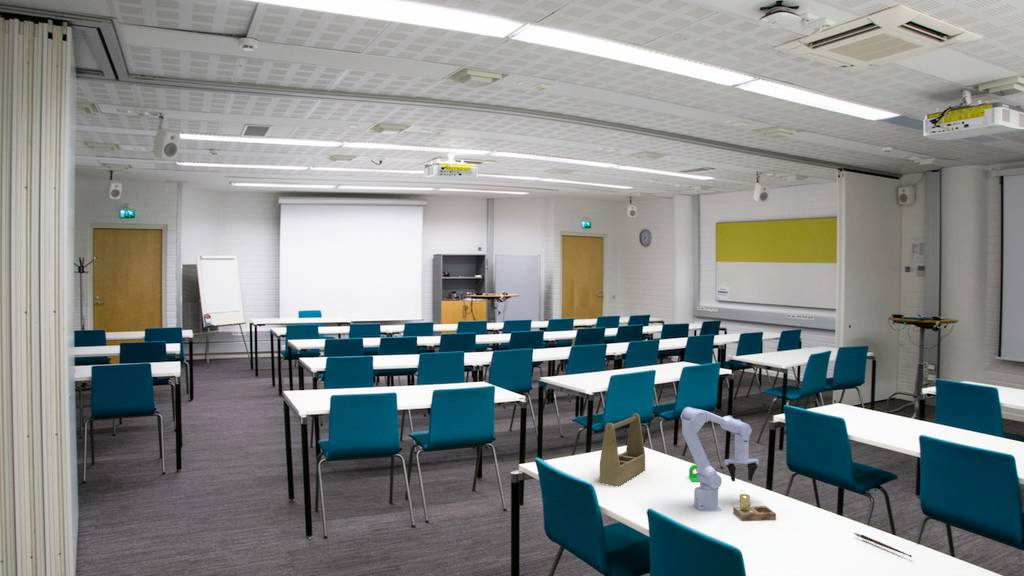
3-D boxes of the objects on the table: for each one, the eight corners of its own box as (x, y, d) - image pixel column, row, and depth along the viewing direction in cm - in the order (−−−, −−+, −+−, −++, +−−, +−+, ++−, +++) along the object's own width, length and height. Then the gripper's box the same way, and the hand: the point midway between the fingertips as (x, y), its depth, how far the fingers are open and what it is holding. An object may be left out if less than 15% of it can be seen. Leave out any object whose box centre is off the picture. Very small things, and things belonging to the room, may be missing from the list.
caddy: (626, 470, 340) (626, 411, 340) (645, 473, 334) (645, 414, 333) (599, 484, 316) (599, 421, 316) (619, 488, 310) (619, 424, 310)
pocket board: (742, 520, 268) (742, 514, 268) (733, 512, 277) (733, 506, 277) (775, 519, 269) (775, 513, 269) (765, 512, 278) (765, 505, 278)
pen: (851, 534, 253) (910, 557, 233) (852, 531, 253) (911, 554, 233) (853, 534, 254) (912, 557, 233) (854, 531, 254) (913, 554, 233)
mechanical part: (692, 484, 316) (692, 468, 316) (689, 481, 322) (689, 464, 322) (717, 485, 316) (717, 468, 316) (714, 481, 322) (714, 464, 322)
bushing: (742, 512, 271) (742, 497, 271) (738, 508, 275) (737, 494, 275) (751, 511, 271) (751, 497, 271) (747, 508, 275) (746, 493, 275)
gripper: (729, 452, 285) (729, 483, 285) (761, 451, 286) (761, 482, 286) (722, 448, 292) (722, 478, 292) (754, 447, 293) (754, 478, 293)
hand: (741, 480), depth 289 cm, fingers open, 7 cm apart
